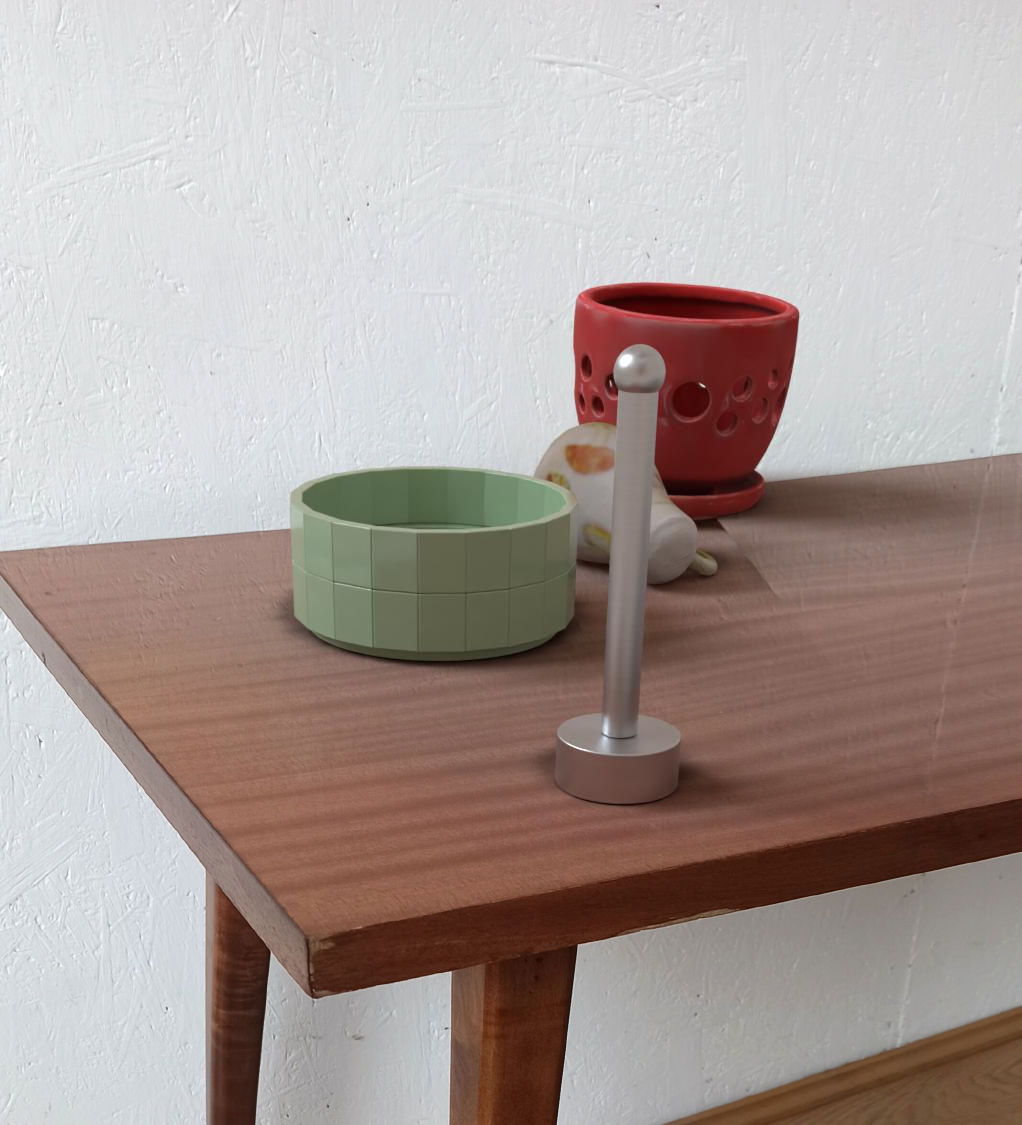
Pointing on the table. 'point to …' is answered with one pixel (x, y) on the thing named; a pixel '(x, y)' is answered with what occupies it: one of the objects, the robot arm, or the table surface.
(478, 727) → the table surface
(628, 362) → the ball topped metal stand
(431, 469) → the bowl
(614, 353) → the flower pot
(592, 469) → the mug
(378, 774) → the table surface
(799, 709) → the table surface
